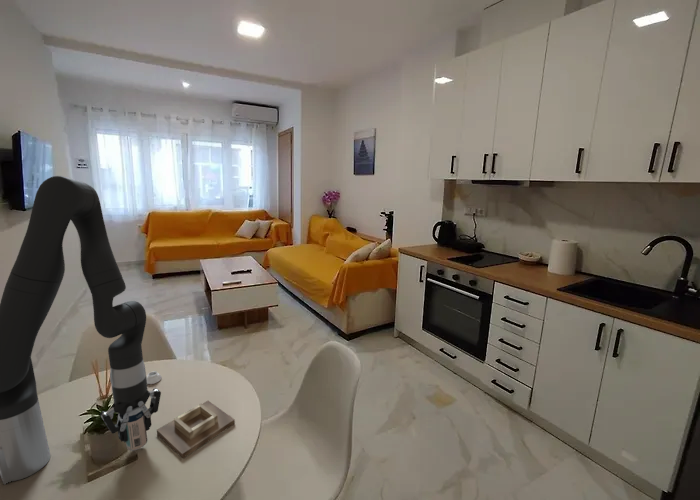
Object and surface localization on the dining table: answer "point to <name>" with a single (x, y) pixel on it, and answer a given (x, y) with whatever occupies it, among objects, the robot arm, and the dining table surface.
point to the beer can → (136, 430)
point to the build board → (195, 428)
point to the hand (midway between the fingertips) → (136, 434)
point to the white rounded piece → (153, 377)
